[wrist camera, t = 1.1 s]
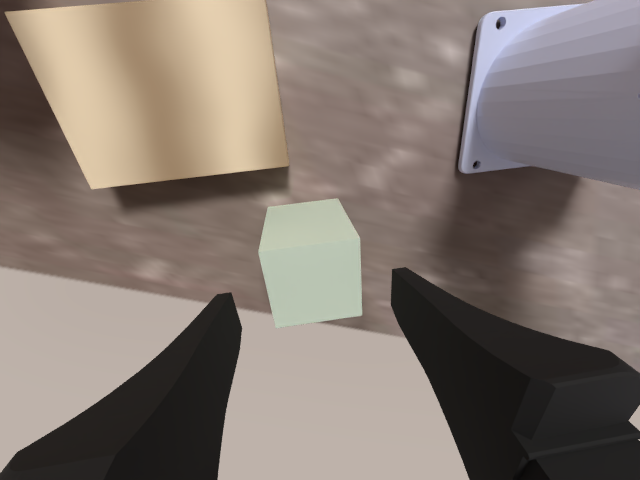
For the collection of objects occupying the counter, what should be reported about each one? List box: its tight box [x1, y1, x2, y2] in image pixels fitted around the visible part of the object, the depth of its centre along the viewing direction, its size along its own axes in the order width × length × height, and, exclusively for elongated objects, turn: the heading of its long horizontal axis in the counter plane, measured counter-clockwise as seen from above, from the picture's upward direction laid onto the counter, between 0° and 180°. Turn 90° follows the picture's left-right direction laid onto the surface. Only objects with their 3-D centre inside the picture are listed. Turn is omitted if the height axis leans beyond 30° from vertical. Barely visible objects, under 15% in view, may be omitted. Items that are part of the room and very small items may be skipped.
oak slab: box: [4, 0, 289, 189], centre depth 13 cm, size 10×7×2 cm
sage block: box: [258, 198, 362, 328], centre depth 15 cm, size 4×4×6 cm
